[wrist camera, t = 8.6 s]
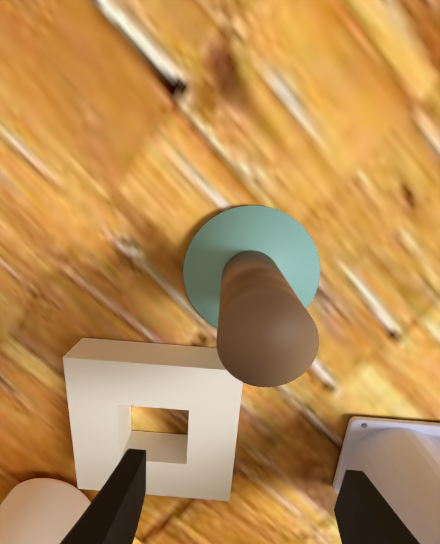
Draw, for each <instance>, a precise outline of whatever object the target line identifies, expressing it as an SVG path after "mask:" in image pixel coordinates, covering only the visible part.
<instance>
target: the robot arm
mask: <svg viewBox="0 0 440 544" xmlns="http://www.w3.org/2000/svg"><path fill="white" fill-rule="evenodd" d="M362 423H363V424H362ZM332 487H333V490H334V492H336V493H338V494H339V495H338V498H337V501H336V505H335V508H334V512H335V516H336V520H337V525H338V529H339V533H340V537H341V541H342V544H440V423H434V422H422V421H409V420H396V419H384V418H371V417H358V416H355V417H352V418H351V419H350V420H349V423H348V427H347V431H346V435H345V439H344V443H343V446H342V450H341V454H340V458H339V462H338V466H337V469H336V473H335V477H334V481H333V485H332ZM145 493H146V450H141V449H130V448H129V449H128V450H127V451H126V452H125V454H124V455H123V457H122V459H121V460H120V462H119V463H118V465H117V466H116V468H115V469H114V471H113V472H112V474H111V475H110V477H109V478H108V480H107V481H106V483H105V484H104V486H103V487H102V488H101V490H100V491H99V493H98V494H97V495H96V497H95V498H94V499H93V501H92V502H91V504H90V505H89V506H88V508H87V509H86V510H85V512H84V513H83V514H82V516H81V517H80V518H79V520H78V521H77V522H76V524H75V525H74V526H73V527H72V529H71V530H70V531H69V532H68V534H67V535H66V536H65V537H64V539H63V540H62V541H61V543H60V544H132V543H133V540H134V536H135V533H136V530H137V526H138V522H139V518H140V514H141V510H142V506H143V501H144V497H145Z"/></svg>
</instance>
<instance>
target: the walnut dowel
mask: <svg viewBox="0 0 440 544" xmlns="http://www.w3.org/2000/svg"><path fill="white" fill-rule="evenodd" d="M318 346H319V335H318V330H317V327H316V325H315V323H314V321H313V319H312V318H311V316H310V315H309V313H308V312H307V310H306V309H305V307H304V306H303V304H302V303H301V301H300V300H299V298H298V297H297V295H296V294H295V292H294V291H293V289H292V288H291V286H290V285H289V283H288V282H287V280H286V279H285V277H284V276H283V274H282V273H281V271H280V270H279V268H278V267H277V265H276V264H275V262H274V261H273V260H272V259H271V258H270V257H269V256H268V255H266V254H264V253H262V252H259V251H254V250H248V251H243V252H240V253H238V254H236V255H234V256H233V257H232V258H230V259H229V260H228V262H227V263H226V265H225V266H224V269H223V272H222V279H221V292H220V305H219V318H218V330H217V352H218V356H219V359H220V361H221V363H222V364H223V366H224V367H225V369H226V370H227V371H228V372H229V373H230V374H231V375H232V376H233V377H235V378H236V379H238V380H240V381H242V382H244V383H246V384H249V385H253V386H258V387H274V386H279V385H283V384H286V383H289V382H291V381H293V380H295V379H296V378H298V377H299V376H301V375H302V374H303V373H304V372H305V371H306V370H307V369H308V368H309V367H310V366H311V364H312V363H313V361H314V359H315V357H316V354H317V351H318Z"/></svg>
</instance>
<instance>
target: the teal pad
mask: <svg viewBox="0 0 440 544" xmlns="http://www.w3.org/2000/svg"><path fill="white" fill-rule="evenodd" d="M248 250H254V251H259V252H262V253H264V254H266V255H268V256H269V257H270V258H271V259H272V260H273V261H274V262H275V264H276V265H277V267H278V268H279V270H280V271H281V273H282V274H283V276H284V277H285V279H286V280H287V282H288V283H289V285H290V286H291V288H292V289H293V291H294V292H295V294H296V295H297V297H298V298H299V300H300V301H301V303H302V304H303V306H304V307H305V309H307V307H308V306H309V305H310V303H311V301H312V299H313V298H314V295H315V293H316V290H317V287H318V283H319V277H320V261H319V255H318V252H317V249H316V246H315V244H314V242H313V240H312V238H311V236H310V235H309V233H308V232H307V231H306V230H305V228H304V227H303V226H302V225H301V224H300V223H299V222H297V221H296V220H295V219H294V218H292V217H291V216H289V215H287V214H286V213H283V212H281V211H279V210H277V209H273V208H270V207H266V206H259V205H247V206H239V207H235V208H231V209H228V210H226V211H224V212H221V213H220V214H218V215H216V216H214V217H213V218H212V219H210V220H209V221H208V222H206V223H205V224H204V225H203V226H202V227H201V229H200V230H199V231H198V232H197V234H196V235H195V236H194V238H193V239H192V241H191V243H190V245H189V247H188V250H187V252H186V255H185V260H184V266H183V280H184V286H185V290H186V293H187V296H188V298H189V300H190V302H191V304H192V305H193V307H194V308H195V310H196V311H197V312H198V313H199V315H200V316H201V317H202V318H203V319H205V320H206V321H207V322H208V323H210V324H211V325H212V326H214V327H216V328H218V318H219V305H220V292H221V279H222V272H223V269H224V266H225V265H226V263H227V262H228V260H229V259H230V258H232V257H233V256H234V255H236V254H238V253H240V252H243V251H248Z"/></svg>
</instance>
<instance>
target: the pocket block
mask: <svg viewBox="0 0 440 544" xmlns="http://www.w3.org/2000/svg"><path fill="white" fill-rule="evenodd" d="M63 365H64V374H65V382H66V391H67V399H68V408H69V417H70V425H71V434H72V443H73V451H74V460H75V468H76V477H77V486H78V489H86V490H98V491H100V490H101V488H102V487H103V486H104V484H105V483H106V481H107V480H108V478H109V477H110V475H111V474H112V472H113V471H114V469H115V468H116V466H117V465H118V463H119V462H120V460H121V459H122V457H123V455H124V454H125V452H126V451H127V450H128V449H129V448H130V449H141V450H146V493H145V494H147V495H159V496H171V497H183V498H195V499H207V500H220V501H230V493H231V484H232V475H233V466H234V457H235V448H236V439H237V430H238V421H239V412H240V403H241V394H242V385H243V382H242V381H240V380H238V379H236V378H235V377H233V376H232V375H231V374H230V373H229V372H228V371H227V370H226V369H225V367H224V366H223V364H222V363H221V361H220V359H219V356H218V352H217V348H211V347H198V346H185V345H172V344H159V343H146V342H133V341H120V340H107V339H94V338H82V339H81V340H80V341H79V342H78V343H77V344H76V345H75V346H74V347H73V348H72V349H71V350H70V351H69V352H67V353H66V354H65V355H64V356H63ZM131 406H141V407H154V408H166V409H179V410H189V421H188V435H183V434H171V433H158V432H146V431H133V430H132V420H131Z"/></svg>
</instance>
